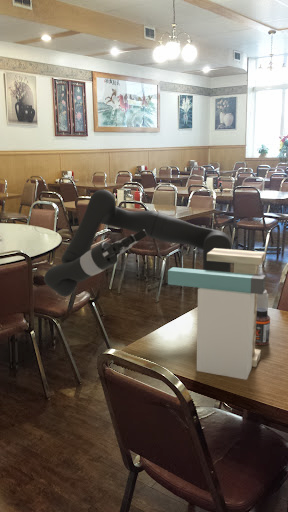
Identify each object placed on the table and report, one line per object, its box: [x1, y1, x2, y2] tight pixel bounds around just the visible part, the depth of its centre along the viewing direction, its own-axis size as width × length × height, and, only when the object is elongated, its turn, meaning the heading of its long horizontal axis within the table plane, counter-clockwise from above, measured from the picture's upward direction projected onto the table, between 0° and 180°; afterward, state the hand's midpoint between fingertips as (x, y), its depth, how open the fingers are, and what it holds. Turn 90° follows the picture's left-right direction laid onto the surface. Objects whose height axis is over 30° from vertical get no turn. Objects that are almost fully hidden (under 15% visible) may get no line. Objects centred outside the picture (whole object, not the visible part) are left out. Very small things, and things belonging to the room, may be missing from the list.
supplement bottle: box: [255, 307, 271, 346], centre depth 149 cm, size 6×6×11 cm
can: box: [257, 289, 270, 315], centre depth 167 cm, size 8×8×12 cm
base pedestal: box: [196, 288, 255, 381], centre depth 129 cm, size 7×14×24 cm, turn 67°
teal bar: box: [167, 266, 266, 294], centre depth 127 cm, size 4×26×4 cm, turn 67°
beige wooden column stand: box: [207, 248, 266, 368], centre depth 136 cm, size 8×15×32 cm, turn 67°
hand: (140, 235), depth 135 cm, fingers open, 8 cm apart
